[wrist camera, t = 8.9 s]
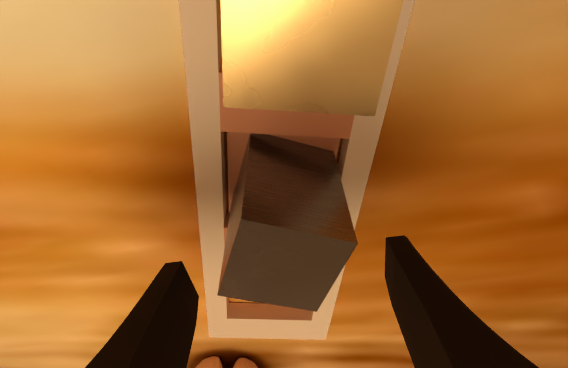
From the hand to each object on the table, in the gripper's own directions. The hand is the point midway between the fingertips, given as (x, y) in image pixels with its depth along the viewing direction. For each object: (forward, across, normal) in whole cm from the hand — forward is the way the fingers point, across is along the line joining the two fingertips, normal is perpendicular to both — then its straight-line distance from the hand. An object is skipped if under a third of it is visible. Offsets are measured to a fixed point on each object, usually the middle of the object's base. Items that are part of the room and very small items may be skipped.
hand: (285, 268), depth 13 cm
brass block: (+6, -2, -8) cm, 10 cm away
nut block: (+6, 0, 0) cm, 6 cm away
